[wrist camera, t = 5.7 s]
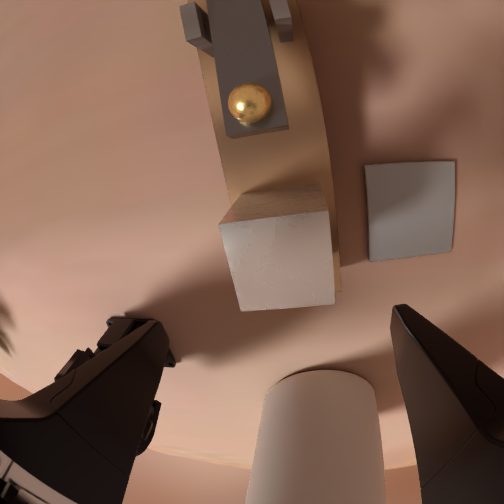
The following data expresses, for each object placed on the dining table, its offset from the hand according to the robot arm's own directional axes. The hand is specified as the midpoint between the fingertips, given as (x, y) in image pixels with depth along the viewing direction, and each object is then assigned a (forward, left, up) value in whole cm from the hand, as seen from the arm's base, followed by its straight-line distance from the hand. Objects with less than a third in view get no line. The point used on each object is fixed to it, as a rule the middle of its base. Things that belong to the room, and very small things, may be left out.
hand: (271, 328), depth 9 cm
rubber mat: (-1, -9, -12) cm, 15 cm away
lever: (+11, 0, -6) cm, 13 cm away
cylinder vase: (-22, -1, -12) cm, 25 cm away
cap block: (0, 0, -9) cm, 9 cm away
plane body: (+5, 0, -12) cm, 13 cm away
